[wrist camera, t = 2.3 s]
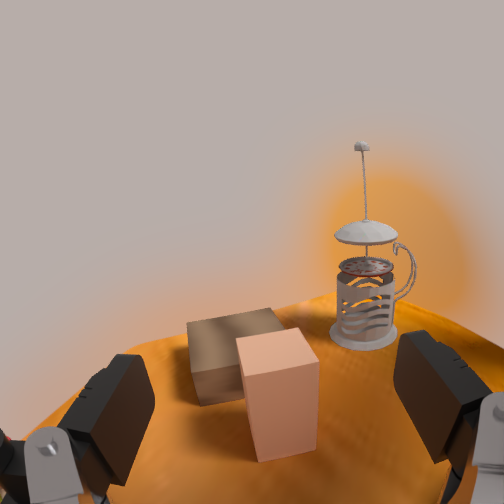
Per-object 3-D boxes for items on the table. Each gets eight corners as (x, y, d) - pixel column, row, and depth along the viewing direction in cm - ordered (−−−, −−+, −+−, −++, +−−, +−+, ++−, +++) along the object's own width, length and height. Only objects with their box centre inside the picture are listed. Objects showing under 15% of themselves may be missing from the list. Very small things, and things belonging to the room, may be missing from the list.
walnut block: (272, 339, 41) (270, 307, 40) (301, 386, 31) (300, 350, 30) (193, 354, 39) (186, 322, 38) (201, 408, 29) (191, 372, 28)
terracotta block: (300, 413, 27) (297, 327, 24) (316, 449, 22) (319, 361, 19) (249, 424, 26) (235, 338, 23) (258, 462, 21) (244, 376, 19)
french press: (328, 316, 45) (320, 145, 39) (401, 312, 43) (403, 143, 36) (328, 352, 36) (320, 139, 30) (417, 347, 33) (426, 138, 27)
